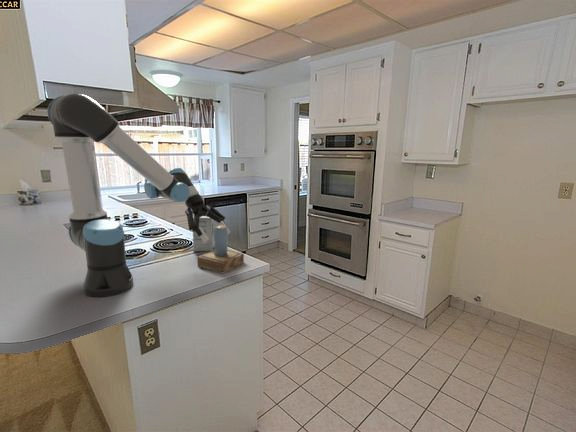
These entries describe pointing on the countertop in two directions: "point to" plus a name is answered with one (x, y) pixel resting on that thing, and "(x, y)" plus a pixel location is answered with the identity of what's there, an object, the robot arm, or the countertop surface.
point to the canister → (220, 241)
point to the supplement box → (208, 229)
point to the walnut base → (220, 261)
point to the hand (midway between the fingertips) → (217, 237)
